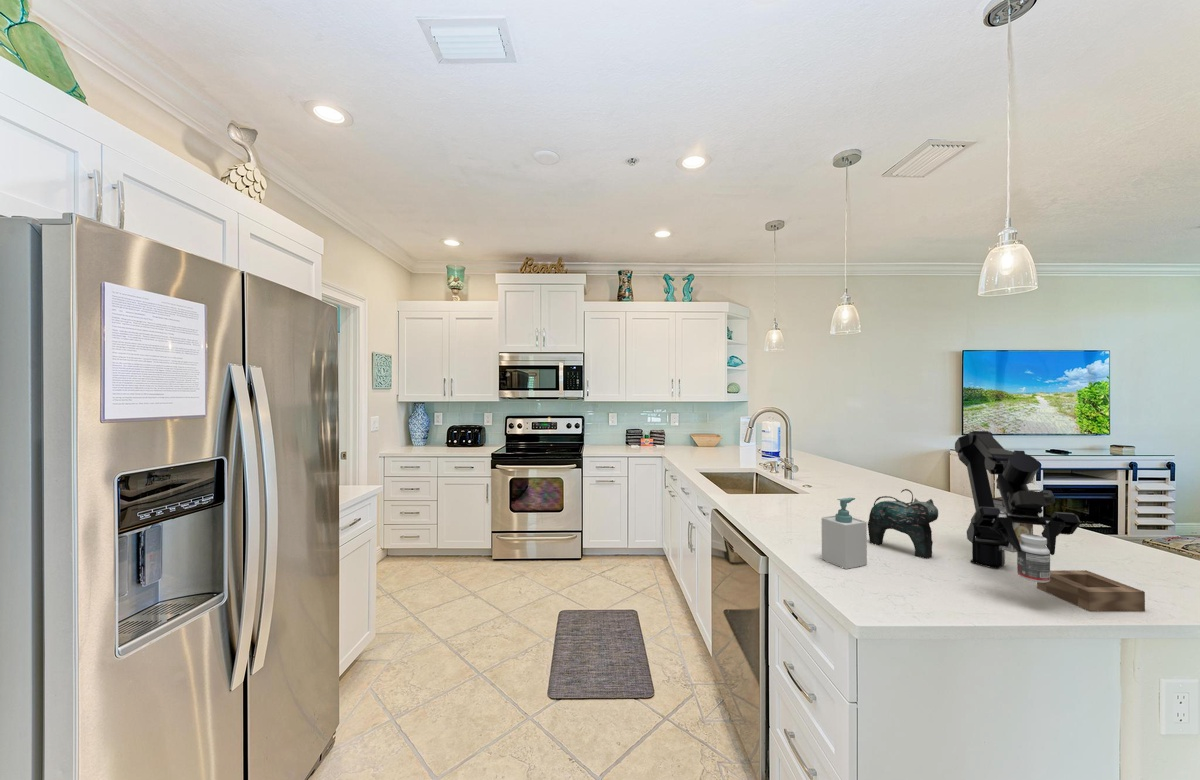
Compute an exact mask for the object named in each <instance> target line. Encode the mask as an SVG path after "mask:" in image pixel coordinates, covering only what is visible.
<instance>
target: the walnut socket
mask: <svg viewBox="0 0 1200 780" xmlns="http://www.w3.org/2000/svg"><path fill="white" fill-rule="evenodd" d="M1036 589H1038V590H1041V591H1043V592H1045V593H1048V594H1049V595H1051V596H1055V597H1057V598H1058V599H1061V600H1063V601H1065V602H1067V603H1069V604H1072V605H1074V606H1076V607H1078V606H1079V607H1078V608H1080V607H1081V609H1082V610H1085V609H1086V611H1087V610H1088V611H1087V612H1146V594H1145V593H1146V592H1145V591H1144V590H1141V589H1138V588H1135V587H1133V586H1131V585H1127V584H1124V583H1122V582H1119V581H1117V580H1114V579H1111V578H1108V577H1105V576H1103V575H1100V574H1098V573H1095V572H1093V571H1090V570H1084V569H1083V570H1072V569H1071V570H1065V569H1064V570H1050V581H1049V582H1046V583H1040V582H1036Z"/></svg>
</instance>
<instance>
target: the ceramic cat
mask: <svg viewBox="0 0 1200 780" xmlns="http://www.w3.org/2000/svg"><path fill="white" fill-rule="evenodd" d="M905 491H907V492H909V493H911V501H910V502H905V501H902V500H899V499H898V498H896V497H894V496H887V495H885V496H879V497H878V498H876V499H875V500H874V503H873V506H872V507H871V509H870V512H869V515H868V516H869V517H868V522H867V530H868V538H869V543H870V544H872V543H873V545H875V544H876V546H881V545H883V542H884V537H885V533H886V531H887V530H894V531H897V532H899V533H903V534H906V535H907V536H908V537H909V538H910V540H911V541H912V544H913V546H914V557H919V558H923V559H925V560H927V559H931V558H933V543H934V541H933V539H932V538H933V536H932V535H933V534H932V532H933V531H932V528H931V525H930V523H934V522H935V521H937V520H938V518H939V509H938V507H937V506H935V505H934V501H933V499H932V498H930V499H928V500H926V501H919V500H918V499H917V498H916V497H915V498H914V494H913V492H912V491H911V490H910V489H908V488H905V489H902V490H901V492H900V493H902V492H905ZM882 498H883V499H886V498H890V499H893V500H883V501H879V500H880V499H882ZM878 501H879V502H878Z"/></svg>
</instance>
